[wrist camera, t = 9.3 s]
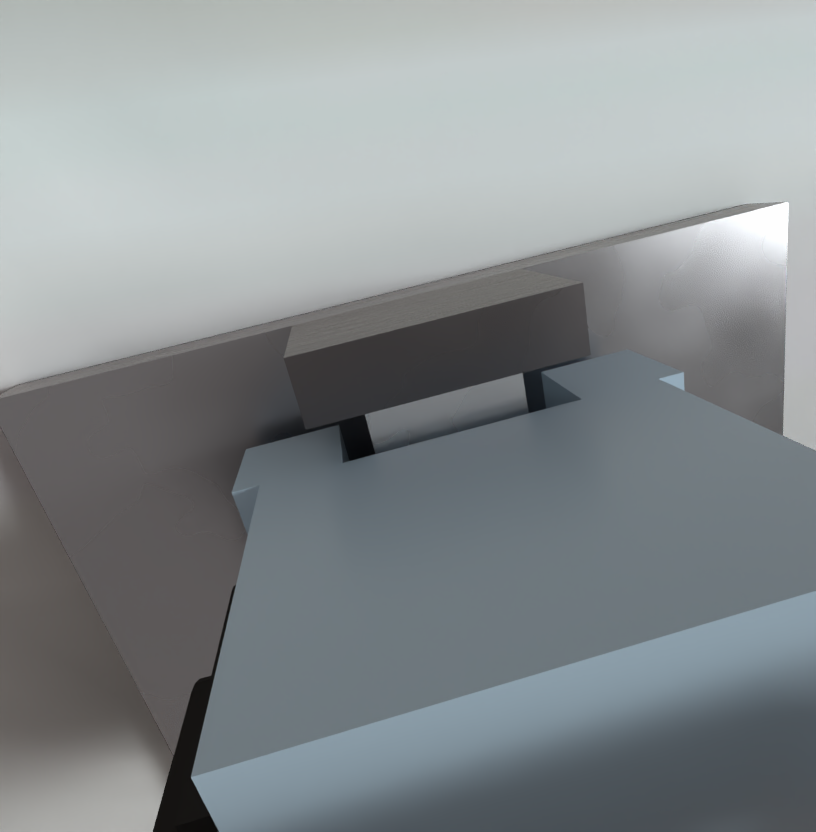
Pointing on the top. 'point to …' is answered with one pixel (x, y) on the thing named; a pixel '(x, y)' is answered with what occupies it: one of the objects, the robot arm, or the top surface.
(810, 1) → the top surface
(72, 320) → the top surface
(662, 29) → the top surface
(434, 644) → the block
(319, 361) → the rail plate
